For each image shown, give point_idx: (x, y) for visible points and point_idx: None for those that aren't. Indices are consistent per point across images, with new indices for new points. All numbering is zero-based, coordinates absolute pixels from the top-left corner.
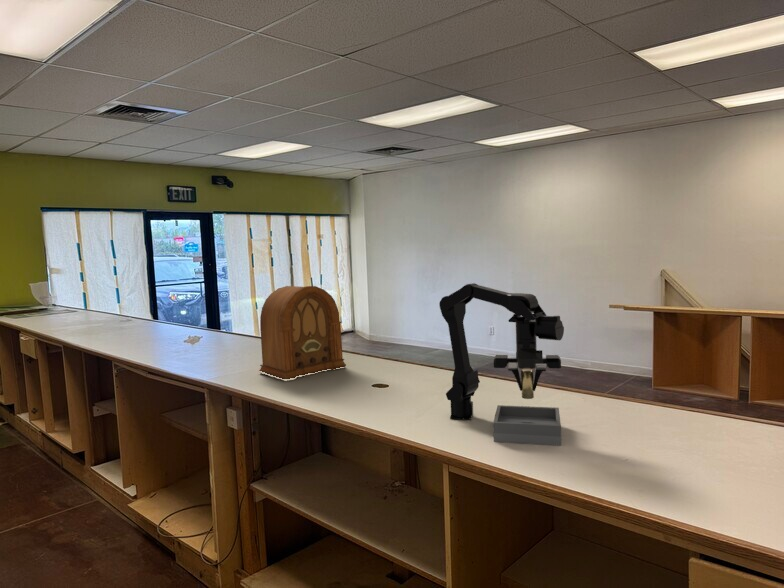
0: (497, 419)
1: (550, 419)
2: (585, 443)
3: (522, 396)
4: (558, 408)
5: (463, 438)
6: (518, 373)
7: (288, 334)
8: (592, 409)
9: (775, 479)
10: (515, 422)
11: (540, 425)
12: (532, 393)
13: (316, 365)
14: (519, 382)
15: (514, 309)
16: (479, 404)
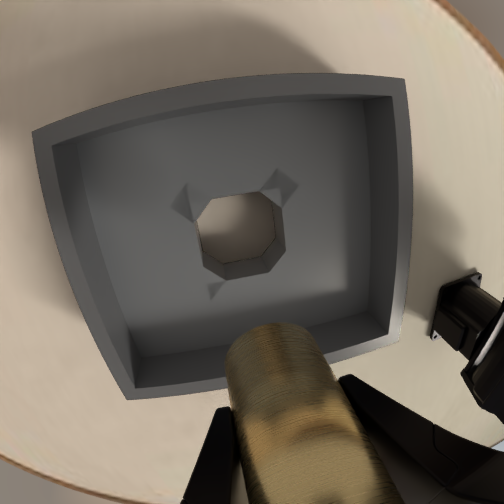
0: (396, 130)
1: (155, 340)
2: (11, 198)
3: (314, 341)
4: (122, 390)
5: (444, 112)
6: (467, 489)
7: None
8: (109, 458)
9: None
10: (297, 95)
11: (136, 96)
12: (234, 378)
13: None
14: (396, 420)
15: None
16: (402, 402)
